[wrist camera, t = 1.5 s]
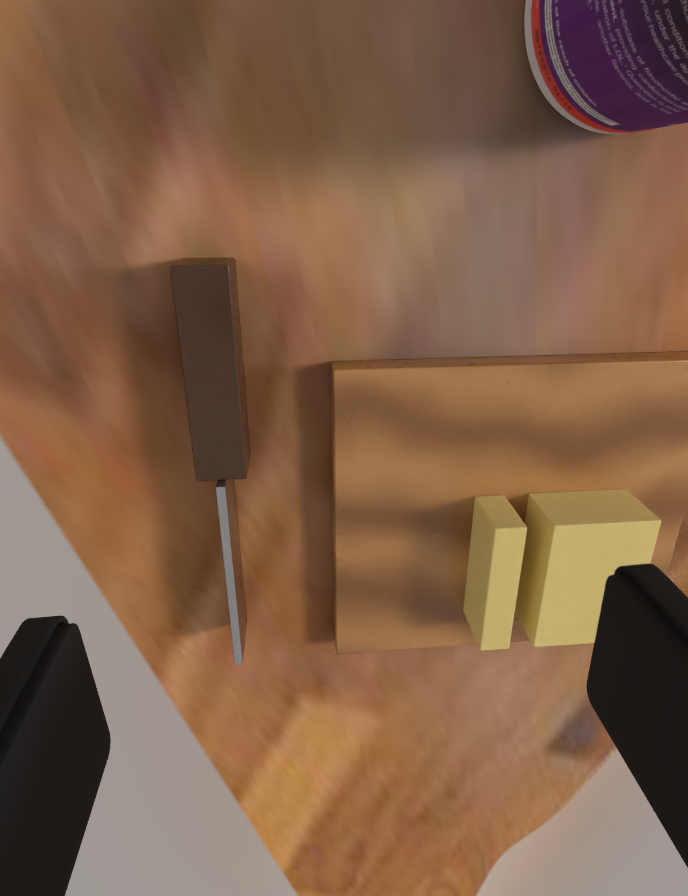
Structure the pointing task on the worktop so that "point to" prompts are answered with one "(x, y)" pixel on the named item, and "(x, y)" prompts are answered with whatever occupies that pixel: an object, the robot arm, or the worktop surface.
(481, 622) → the butter pat
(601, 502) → the butter block
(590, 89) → the pill bottle
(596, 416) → the cutting board
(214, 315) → the knife
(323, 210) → the worktop surface
